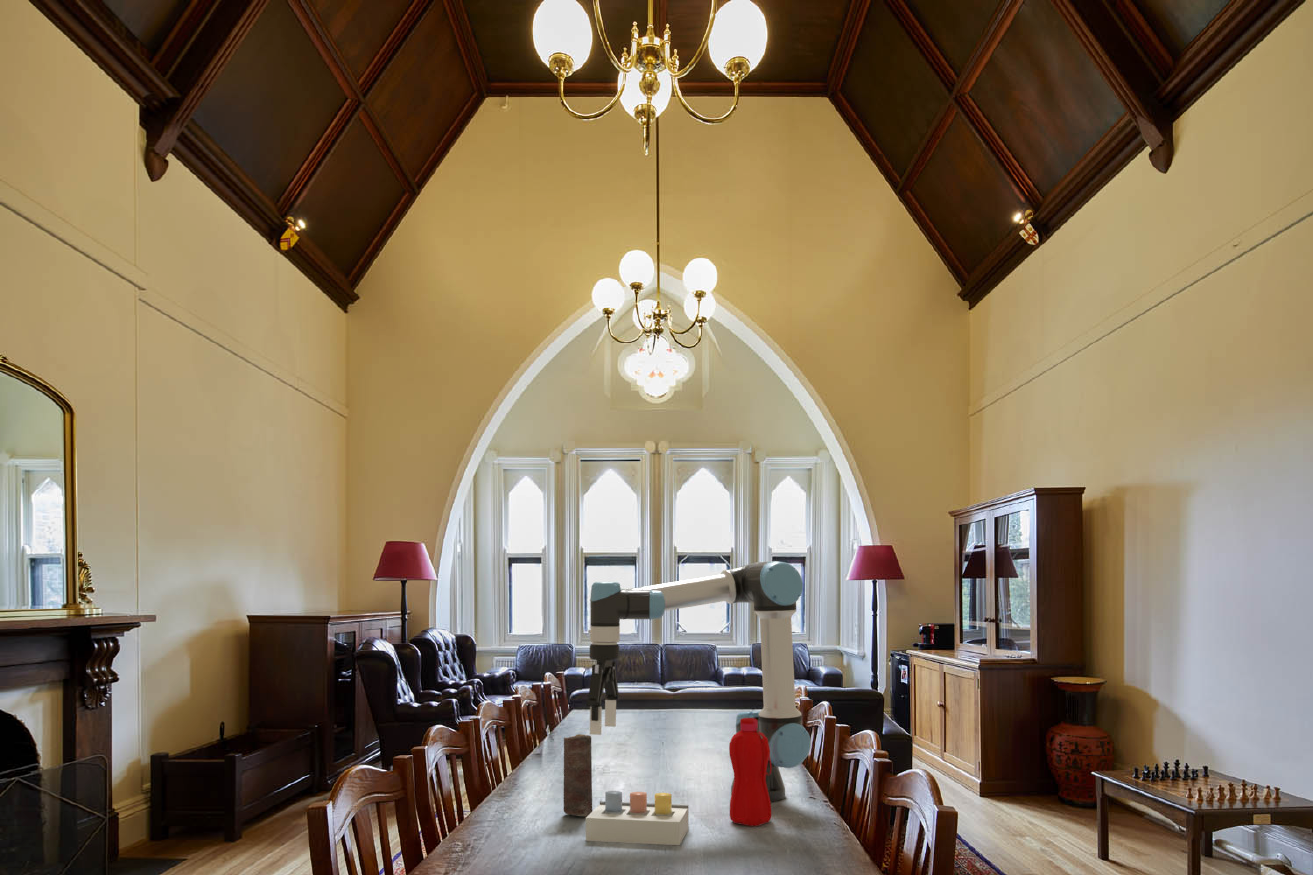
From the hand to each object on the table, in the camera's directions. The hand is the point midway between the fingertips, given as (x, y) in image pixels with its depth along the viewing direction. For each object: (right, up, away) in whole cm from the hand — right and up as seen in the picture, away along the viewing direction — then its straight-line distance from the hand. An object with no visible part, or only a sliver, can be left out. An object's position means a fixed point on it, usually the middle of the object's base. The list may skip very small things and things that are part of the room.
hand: (603, 730), depth 229 cm
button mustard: (+15, -15, -12) cm, 25 cm away
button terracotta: (+9, -16, -11) cm, 21 cm away
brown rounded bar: (-7, -24, +6) cm, 26 cm away
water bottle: (+38, -23, -1) cm, 44 cm away
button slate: (+3, -16, -10) cm, 19 cm away
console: (+9, -21, -12) cm, 26 cm away
